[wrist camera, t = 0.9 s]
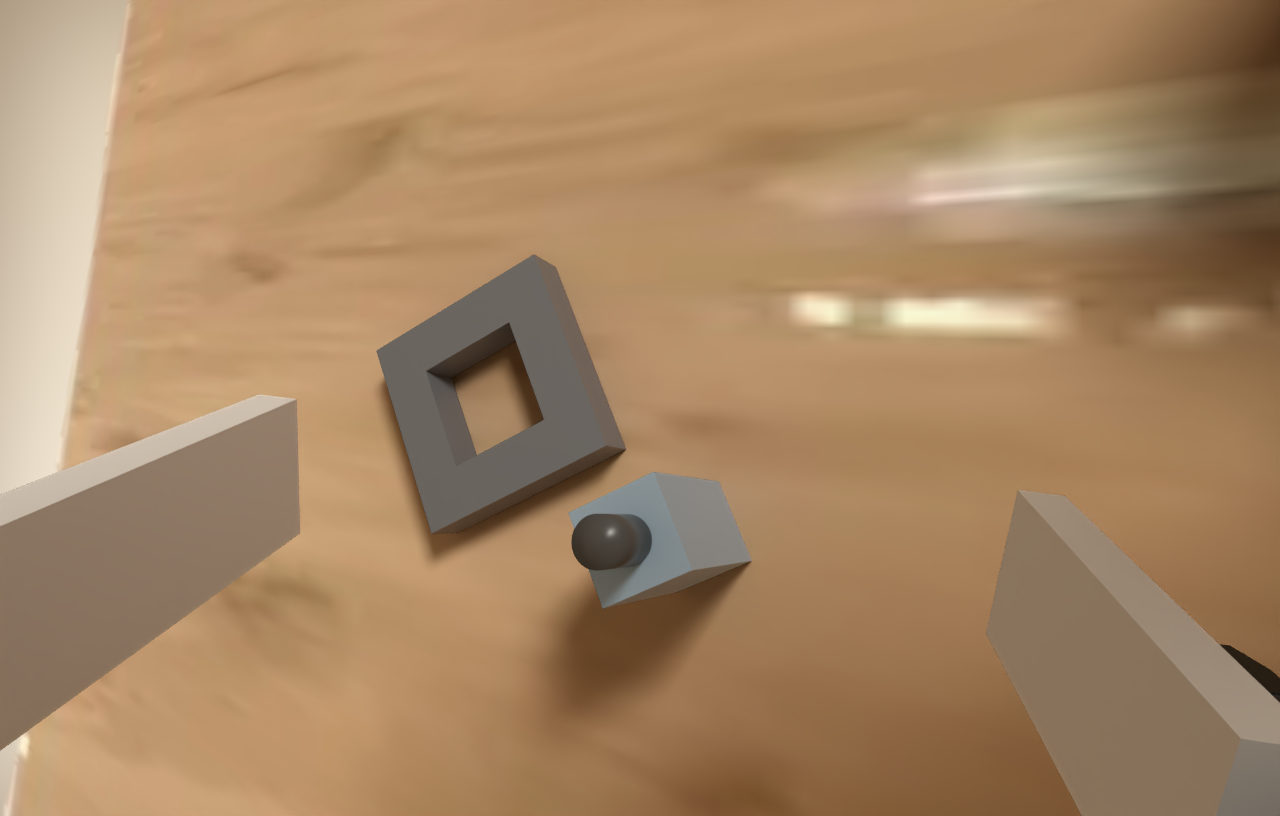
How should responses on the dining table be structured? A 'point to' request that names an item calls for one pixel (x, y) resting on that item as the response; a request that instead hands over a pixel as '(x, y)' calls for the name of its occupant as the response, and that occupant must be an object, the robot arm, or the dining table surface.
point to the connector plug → (656, 537)
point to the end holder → (558, 373)
